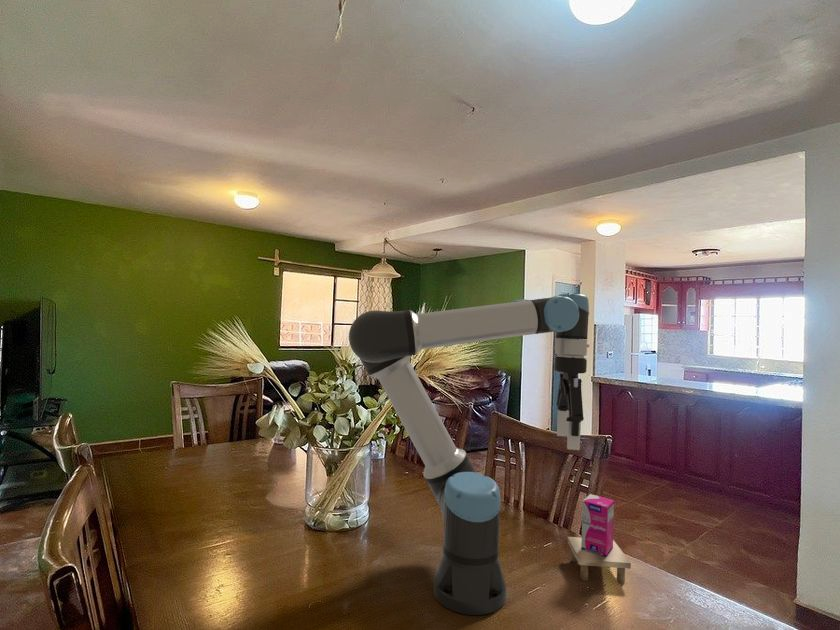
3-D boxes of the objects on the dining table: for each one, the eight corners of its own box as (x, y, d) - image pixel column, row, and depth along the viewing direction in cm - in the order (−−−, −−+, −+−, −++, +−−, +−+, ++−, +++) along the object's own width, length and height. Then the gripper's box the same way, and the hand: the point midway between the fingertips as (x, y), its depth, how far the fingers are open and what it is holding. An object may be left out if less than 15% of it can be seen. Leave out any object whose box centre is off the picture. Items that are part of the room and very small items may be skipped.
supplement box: (580, 549, 105) (581, 500, 106) (588, 540, 110) (589, 493, 110) (606, 558, 102) (607, 506, 102) (613, 548, 106) (614, 499, 107)
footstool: (579, 582, 101) (579, 559, 101) (567, 557, 112) (567, 536, 112) (630, 586, 100) (630, 563, 100) (613, 560, 111) (613, 539, 111)
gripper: (600, 360, 100) (596, 457, 99) (575, 354, 124) (572, 432, 124) (564, 358, 101) (561, 454, 100) (547, 352, 125) (544, 429, 125)
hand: (567, 442), depth 112 cm, fingers open, 13 cm apart
